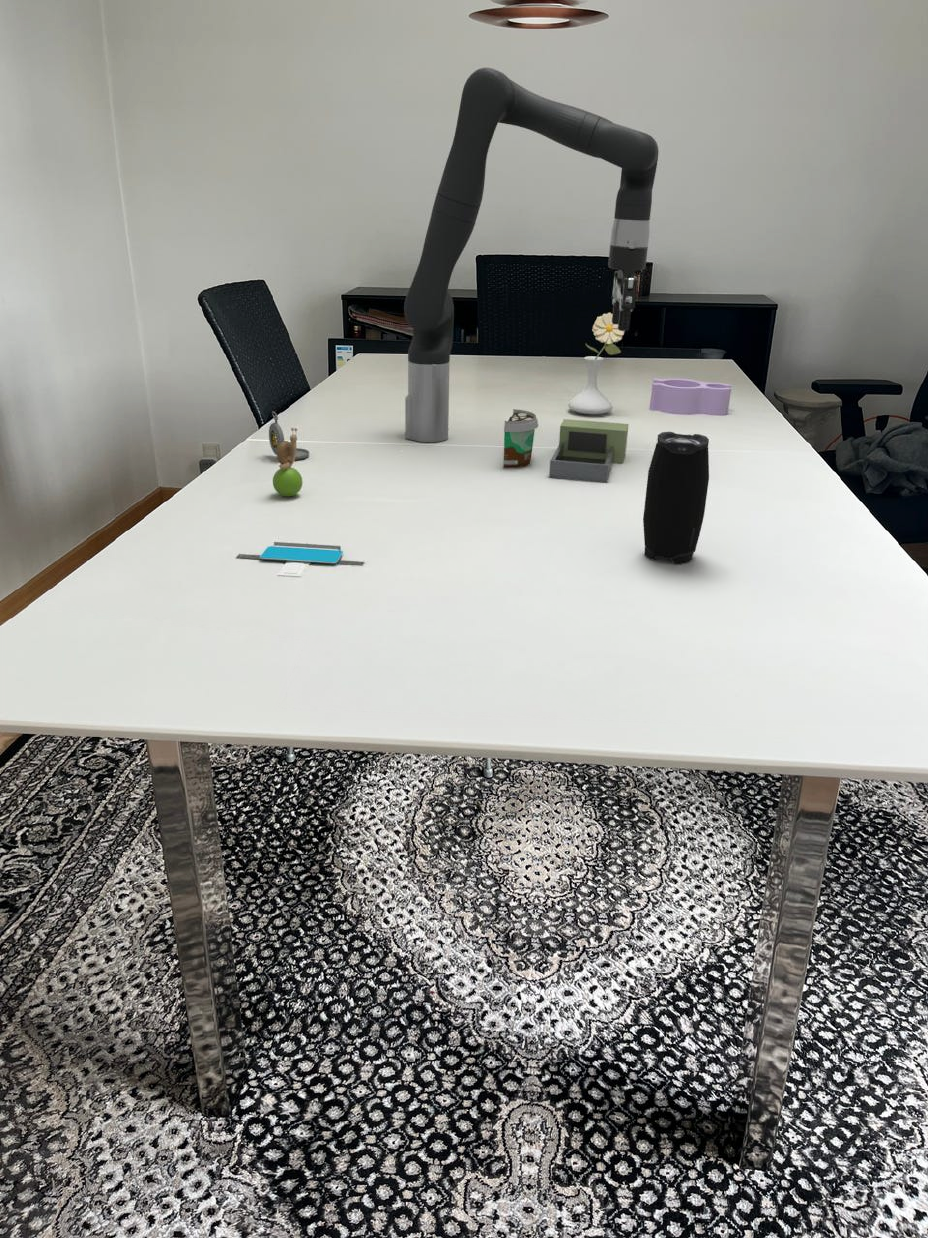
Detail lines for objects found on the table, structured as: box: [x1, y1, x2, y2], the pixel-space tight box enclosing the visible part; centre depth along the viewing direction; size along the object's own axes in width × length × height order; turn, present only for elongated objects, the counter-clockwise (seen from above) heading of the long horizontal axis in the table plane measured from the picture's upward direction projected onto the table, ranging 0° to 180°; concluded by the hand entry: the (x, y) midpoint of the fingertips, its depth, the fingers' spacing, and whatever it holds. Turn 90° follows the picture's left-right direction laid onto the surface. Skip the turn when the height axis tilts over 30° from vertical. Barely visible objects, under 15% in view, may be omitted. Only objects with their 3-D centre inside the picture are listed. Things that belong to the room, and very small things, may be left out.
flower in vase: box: [567, 312, 626, 415], centre depth 242 cm, size 13×11×25 cm
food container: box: [503, 408, 539, 469], centre depth 201 cm, size 12×6×10 cm, turn 168°
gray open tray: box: [549, 442, 615, 484], centre depth 199 cm, size 12×15×4 cm
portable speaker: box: [642, 431, 710, 565], centre depth 152 cm, size 9×9×20 cm
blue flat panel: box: [235, 541, 365, 578], centre depth 149 cm, size 20×12×2 cm, turn 85°
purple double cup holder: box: [649, 378, 732, 417], centre depth 253 cm, size 20×12×7 cm, turn 77°
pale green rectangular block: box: [558, 418, 629, 464], centre depth 208 cm, size 14×7×7 cm, turn 77°
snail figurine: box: [272, 427, 303, 498], centre depth 177 cm, size 5×6×12 cm
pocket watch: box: [268, 411, 310, 460], centre depth 201 cm, size 8×8×10 cm
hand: (620, 327), depth 200 cm, fingers open, 8 cm apart
